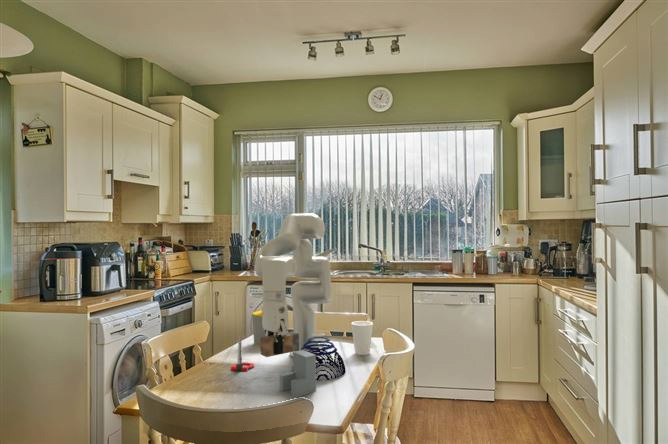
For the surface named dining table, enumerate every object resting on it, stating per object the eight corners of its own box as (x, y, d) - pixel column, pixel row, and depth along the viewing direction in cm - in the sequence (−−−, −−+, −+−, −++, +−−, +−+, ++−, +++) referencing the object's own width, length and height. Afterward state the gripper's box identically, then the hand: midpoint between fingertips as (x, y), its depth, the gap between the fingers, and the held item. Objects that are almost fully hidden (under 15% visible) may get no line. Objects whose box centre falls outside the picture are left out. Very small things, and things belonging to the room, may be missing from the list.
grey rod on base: (237, 364, 183) (228, 370, 173) (237, 332, 183) (228, 337, 174) (257, 365, 181) (249, 371, 172) (257, 333, 182) (249, 337, 173)
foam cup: (353, 349, 202) (352, 320, 202) (373, 350, 200) (373, 321, 201) (350, 355, 192) (350, 325, 193) (372, 356, 191) (371, 325, 191)
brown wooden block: (292, 347, 153) (292, 331, 153) (299, 350, 150) (298, 333, 150) (260, 354, 146) (260, 337, 146) (266, 357, 142) (266, 339, 142)
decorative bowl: (340, 362, 183) (339, 327, 183) (350, 379, 163) (349, 339, 163) (291, 365, 180) (290, 329, 180) (295, 382, 160) (294, 342, 160)
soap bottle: (284, 341, 218) (284, 297, 219) (272, 348, 206) (272, 301, 206) (260, 339, 222) (259, 296, 223) (247, 346, 210) (247, 300, 210)
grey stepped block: (279, 389, 153) (279, 353, 153) (301, 383, 158) (301, 349, 158) (294, 397, 145) (294, 360, 145) (317, 391, 151) (317, 355, 151)
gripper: (297, 297, 142) (298, 356, 142) (271, 292, 156) (272, 345, 155) (277, 300, 138) (277, 360, 137) (252, 294, 151) (252, 349, 151)
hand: (274, 351), depth 146 cm, fingers closed on brown wooden block, 4 cm apart
